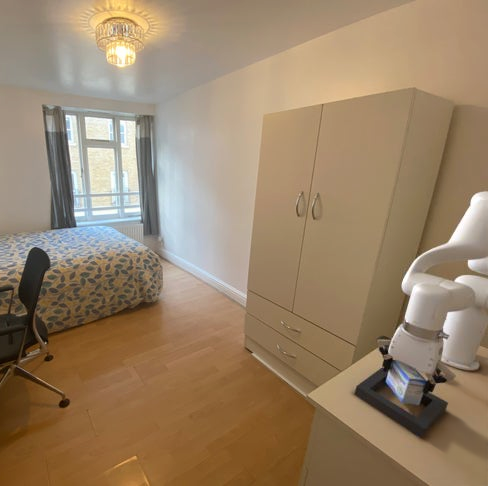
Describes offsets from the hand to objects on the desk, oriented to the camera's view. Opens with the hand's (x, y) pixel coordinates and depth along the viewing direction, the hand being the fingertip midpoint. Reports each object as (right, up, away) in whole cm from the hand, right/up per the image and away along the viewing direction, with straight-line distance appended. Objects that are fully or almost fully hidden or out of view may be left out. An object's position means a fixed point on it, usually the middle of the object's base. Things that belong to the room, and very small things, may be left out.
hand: (405, 380), depth 78 cm
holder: (0, -8, +2) cm, 8 cm away
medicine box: (0, -5, +2) cm, 5 cm away
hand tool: (+17, -3, +20) cm, 26 cm away
